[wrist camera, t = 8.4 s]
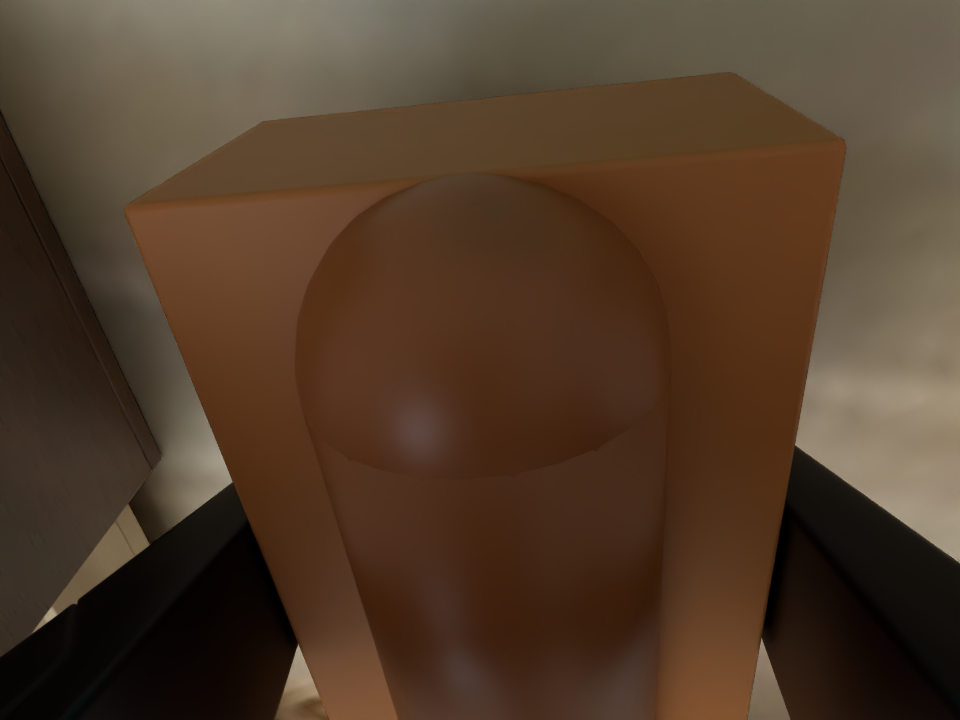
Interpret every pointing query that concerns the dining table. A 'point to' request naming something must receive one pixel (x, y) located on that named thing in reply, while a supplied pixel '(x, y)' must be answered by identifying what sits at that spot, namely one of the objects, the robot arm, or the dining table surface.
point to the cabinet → (54, 414)
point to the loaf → (511, 386)
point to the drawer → (102, 561)
